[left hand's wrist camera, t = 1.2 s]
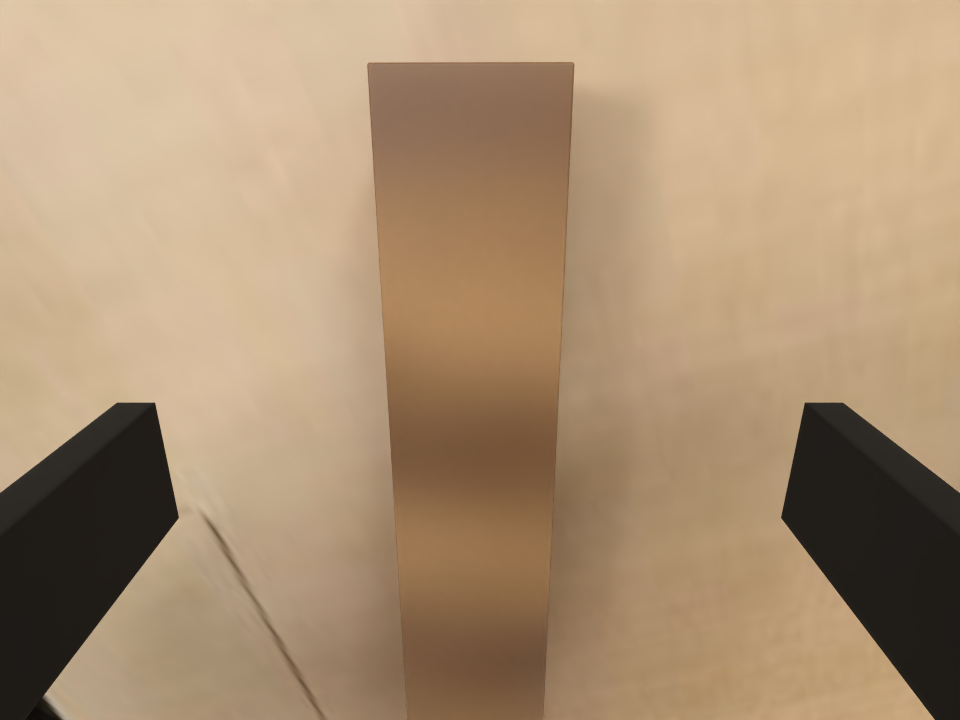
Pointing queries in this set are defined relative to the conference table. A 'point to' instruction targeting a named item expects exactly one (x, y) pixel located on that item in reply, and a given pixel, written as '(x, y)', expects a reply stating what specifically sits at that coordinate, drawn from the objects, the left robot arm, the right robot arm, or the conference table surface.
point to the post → (472, 368)
